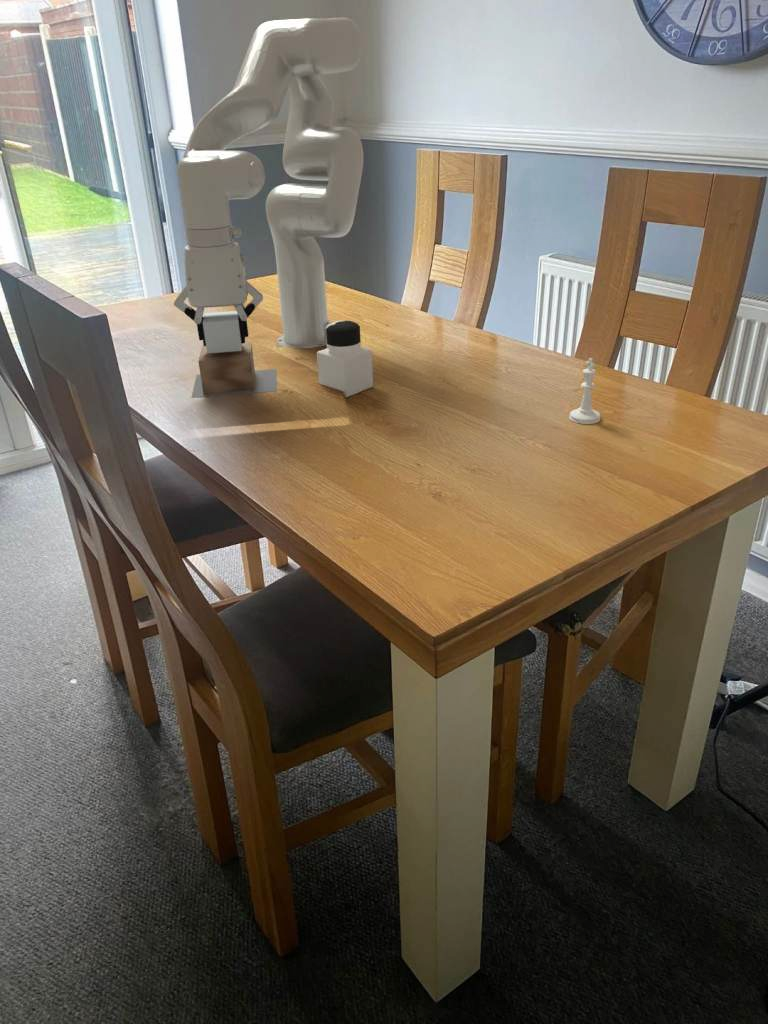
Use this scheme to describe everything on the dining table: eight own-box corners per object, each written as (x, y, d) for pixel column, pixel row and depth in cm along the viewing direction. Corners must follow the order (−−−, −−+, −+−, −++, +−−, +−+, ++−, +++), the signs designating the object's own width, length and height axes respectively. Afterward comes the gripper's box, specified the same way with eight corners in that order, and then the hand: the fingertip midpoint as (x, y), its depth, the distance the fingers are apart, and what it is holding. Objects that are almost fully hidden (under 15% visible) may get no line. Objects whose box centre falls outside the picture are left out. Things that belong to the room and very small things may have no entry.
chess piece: (582, 426, 125) (588, 366, 120) (562, 416, 129) (567, 357, 124) (606, 420, 127) (613, 360, 122) (586, 410, 131) (592, 351, 126)
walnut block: (255, 373, 149) (251, 342, 146) (254, 389, 141) (250, 357, 138) (206, 376, 148) (202, 345, 145) (203, 393, 140) (198, 361, 137)
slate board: (276, 374, 151) (276, 368, 150) (277, 397, 140) (276, 391, 140) (197, 380, 149) (196, 374, 149) (192, 404, 139) (191, 397, 138)
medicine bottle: (374, 387, 143) (371, 322, 138) (346, 398, 139) (342, 331, 133) (346, 378, 148) (342, 315, 142) (318, 389, 143) (313, 324, 137)
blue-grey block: (242, 340, 144) (238, 310, 141) (241, 350, 139) (237, 320, 136) (209, 343, 143) (205, 313, 141) (207, 353, 138) (202, 322, 135)
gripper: (262, 230, 136) (273, 333, 145) (160, 236, 134) (177, 339, 143) (261, 238, 129) (273, 345, 138) (155, 244, 128) (173, 352, 137)
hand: (224, 341), depth 140 cm, fingers closed on blue-grey block, 5 cm apart
